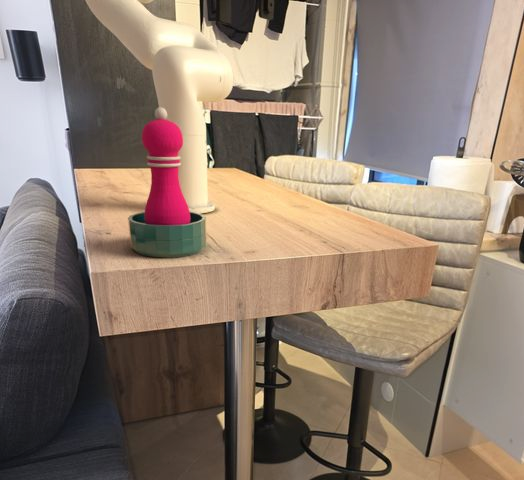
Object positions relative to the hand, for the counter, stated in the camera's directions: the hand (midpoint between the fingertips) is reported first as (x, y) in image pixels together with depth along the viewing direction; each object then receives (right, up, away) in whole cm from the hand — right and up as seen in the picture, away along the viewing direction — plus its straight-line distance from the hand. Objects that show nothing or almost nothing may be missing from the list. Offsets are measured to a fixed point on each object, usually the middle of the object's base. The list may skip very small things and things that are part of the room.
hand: (244, 21), depth 78 cm
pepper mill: (-12, -40, -3) cm, 42 cm away
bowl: (-12, -40, -3) cm, 42 cm away
